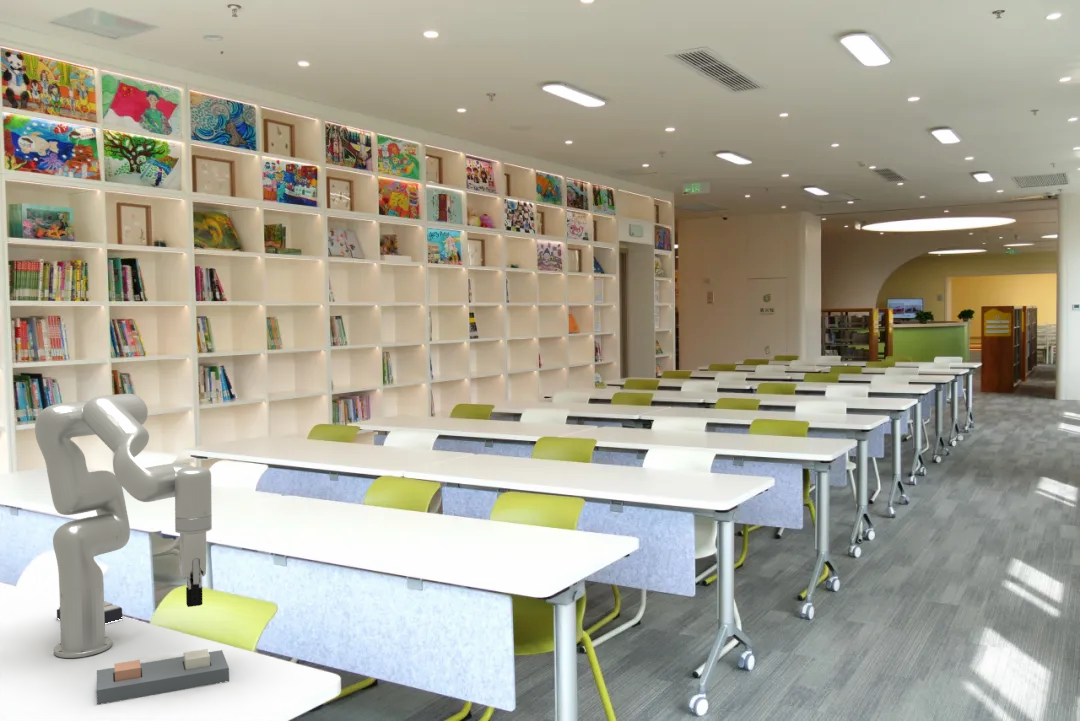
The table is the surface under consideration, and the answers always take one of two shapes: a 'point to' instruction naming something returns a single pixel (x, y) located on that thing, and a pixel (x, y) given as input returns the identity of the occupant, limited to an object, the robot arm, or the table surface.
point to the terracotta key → (127, 670)
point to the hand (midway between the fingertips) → (194, 604)
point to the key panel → (161, 678)
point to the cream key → (196, 659)
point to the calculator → (107, 612)
